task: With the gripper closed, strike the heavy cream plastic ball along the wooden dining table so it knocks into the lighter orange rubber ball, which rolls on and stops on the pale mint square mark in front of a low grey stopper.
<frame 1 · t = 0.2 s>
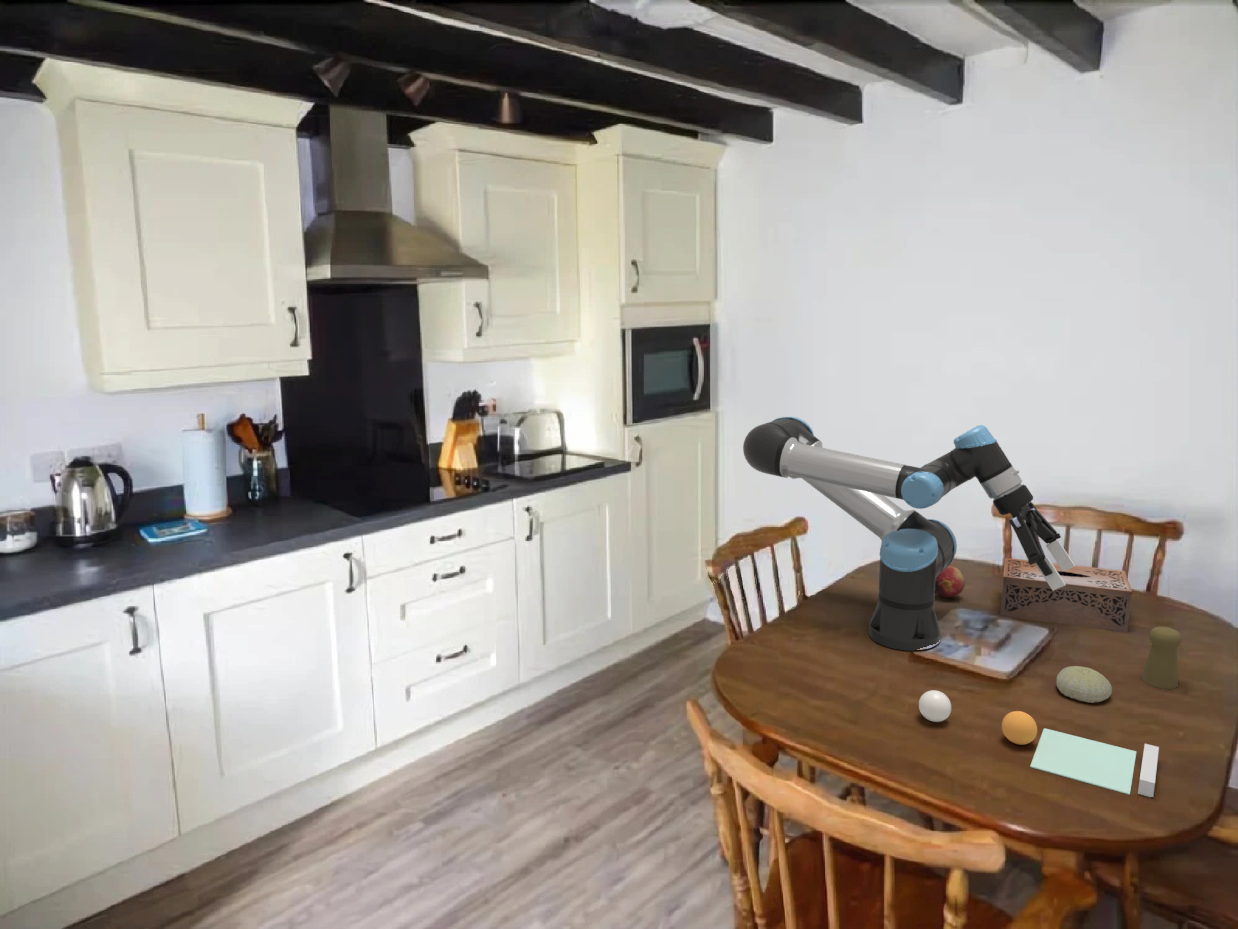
hand: (1064, 578, 178), 15 cm above the table, tool tilted 35°, fingers open, 13 cm apart
sea urchin shell: (1081, 695, 161), on the table
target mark: (1083, 759, 139), on the table
stopper: (1147, 776, 134), on the table
orange ball: (1019, 727, 144), on the table
fruit: (946, 598, 209), on the table
cork: (1159, 682, 164), on the table
tissue box cover: (1060, 614, 198), on the table
cue ball: (934, 706, 152), on the table
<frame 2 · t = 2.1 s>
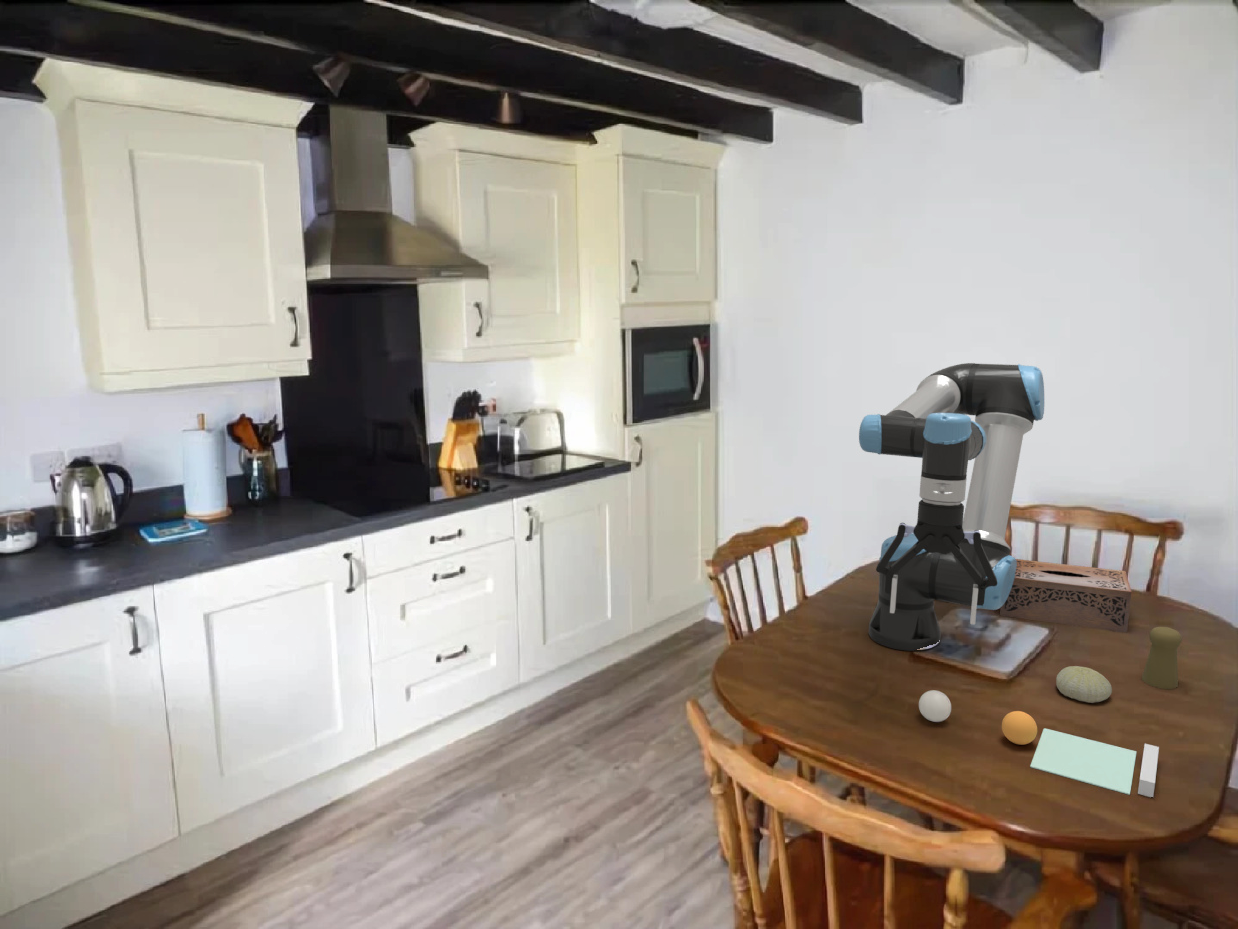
hand: (931, 616, 151), 19 cm above the table, tool pointing down, fingers open, 13 cm apart
nothing on the table moved.
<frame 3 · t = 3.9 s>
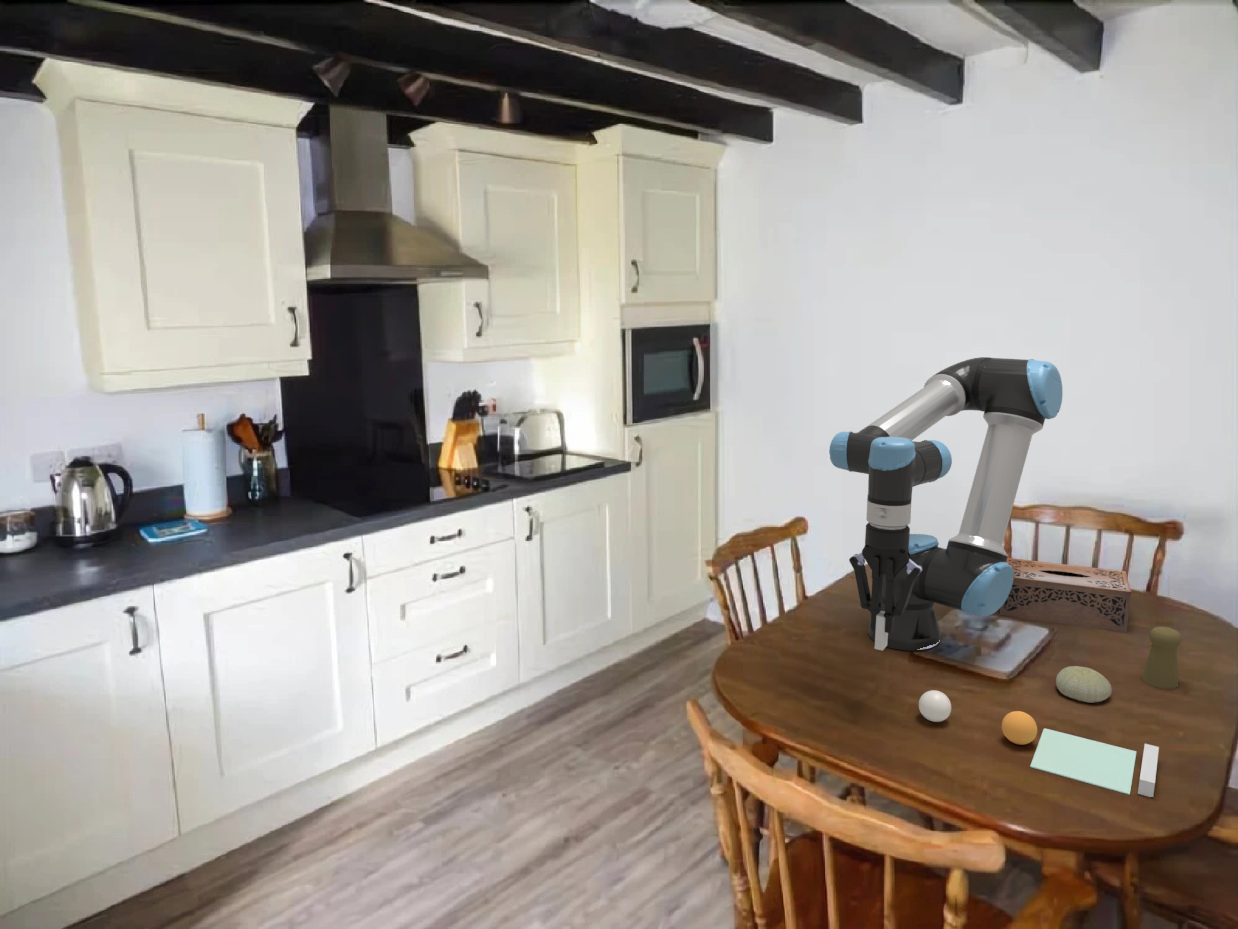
hand: (880, 647, 155), 12 cm above the table, tool pointing down, fingers closed
nothing on the table moved.
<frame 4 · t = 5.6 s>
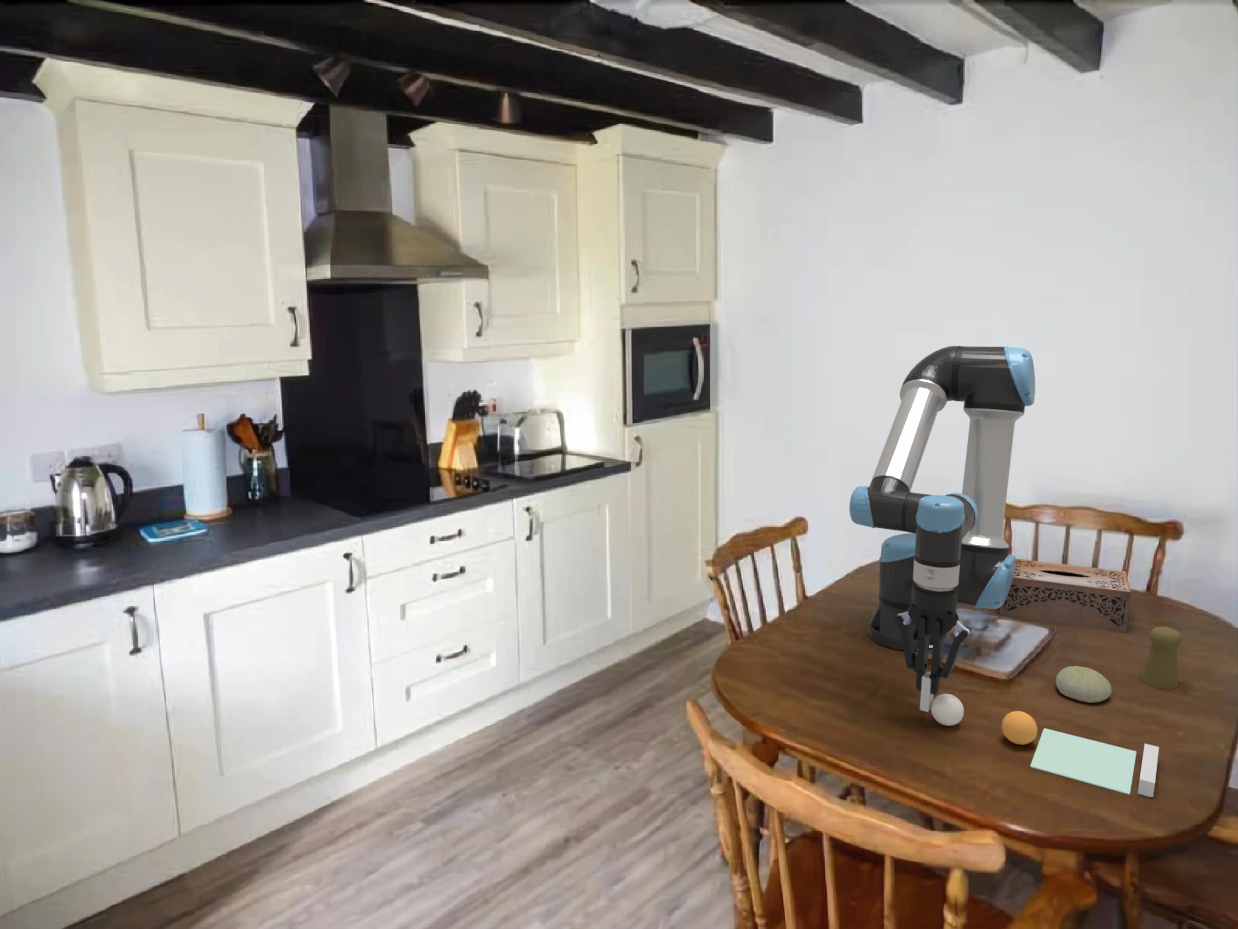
hand: (926, 708, 152), 2 cm above the table, tool pointing down, fingers closed
cue ball: (947, 709, 150), on the table, touching gripper
everything else where it was.
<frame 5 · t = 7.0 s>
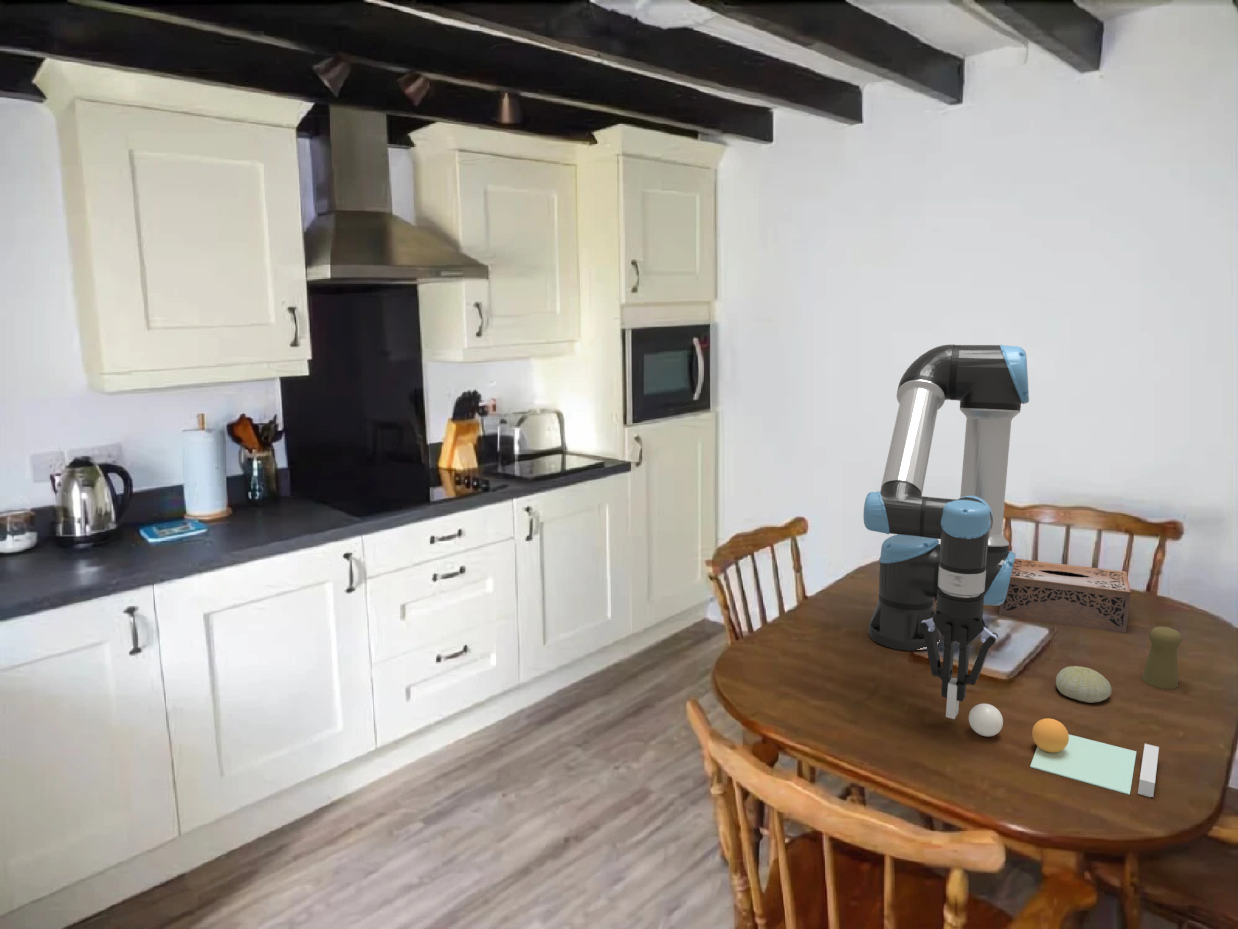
hand: (952, 714, 150), 2 cm above the table, tool pointing down, fingers closed
orange ball: (1050, 735, 141), on the table
cue ball: (985, 720, 146), on the table
everything else where it was.
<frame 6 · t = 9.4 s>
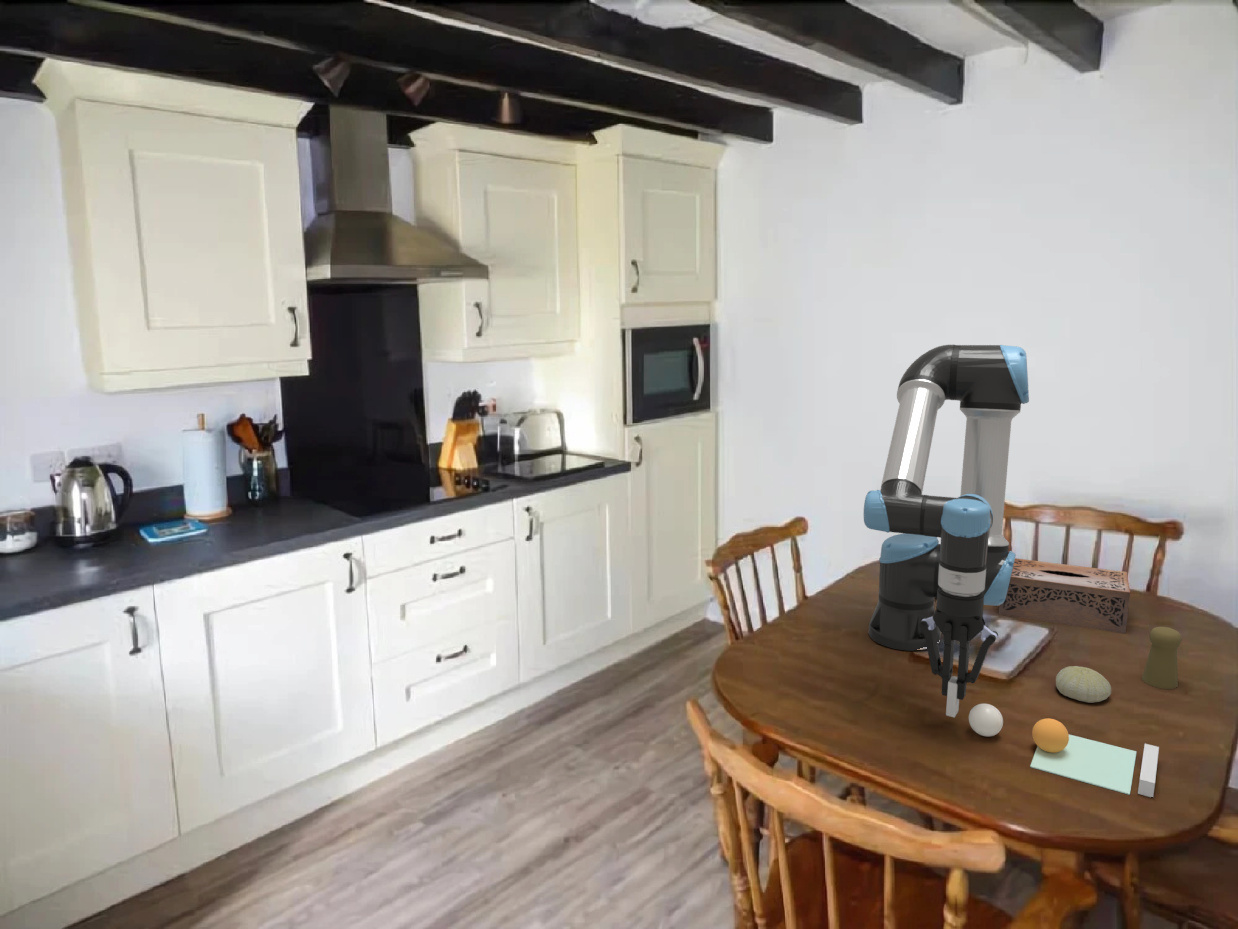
hand: (952, 713, 150), 2 cm above the table, tool pointing down, fingers closed
nothing on the table moved.
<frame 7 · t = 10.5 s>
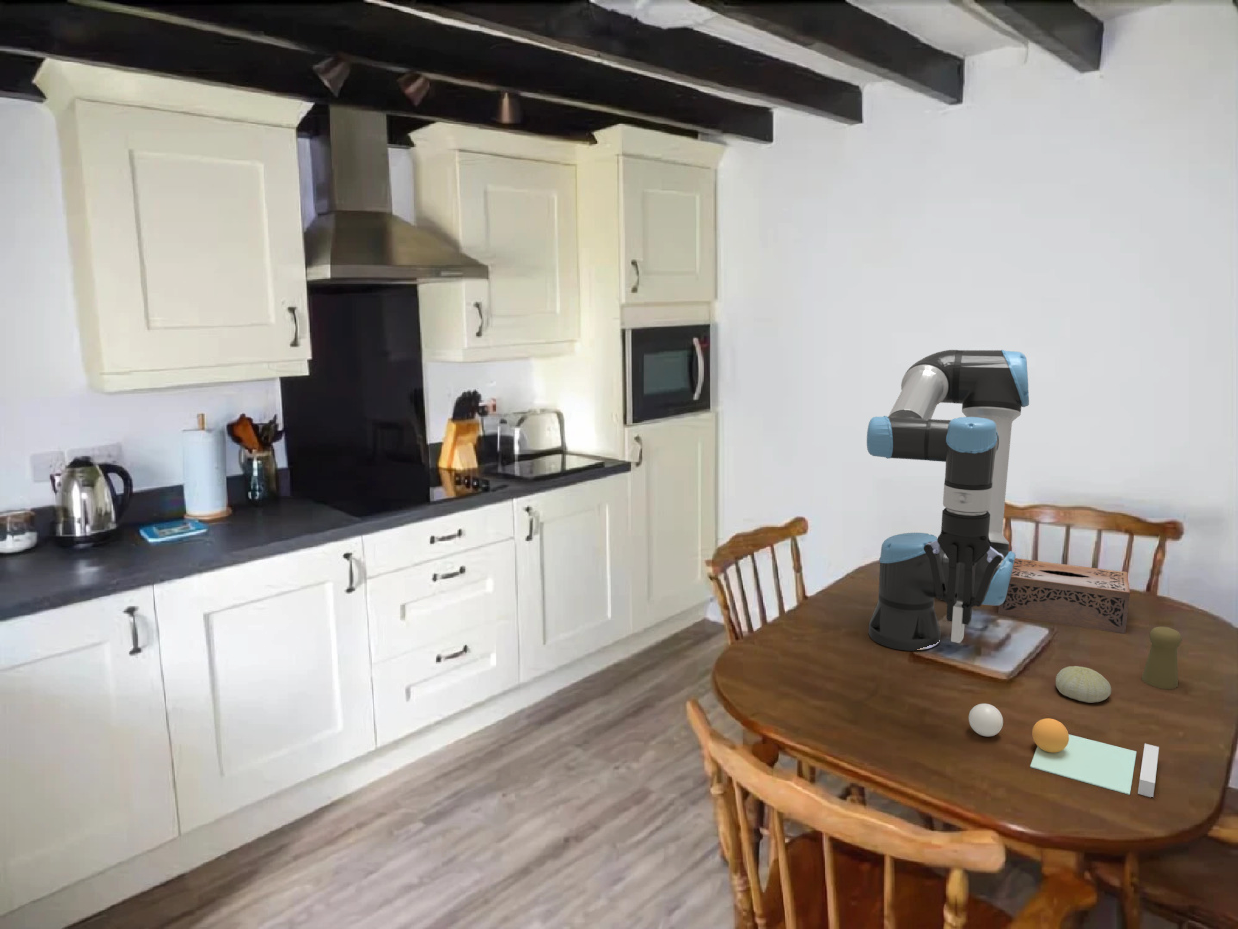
hand: (957, 639, 147), 16 cm above the table, tool pointing down, fingers closed
nothing on the table moved.
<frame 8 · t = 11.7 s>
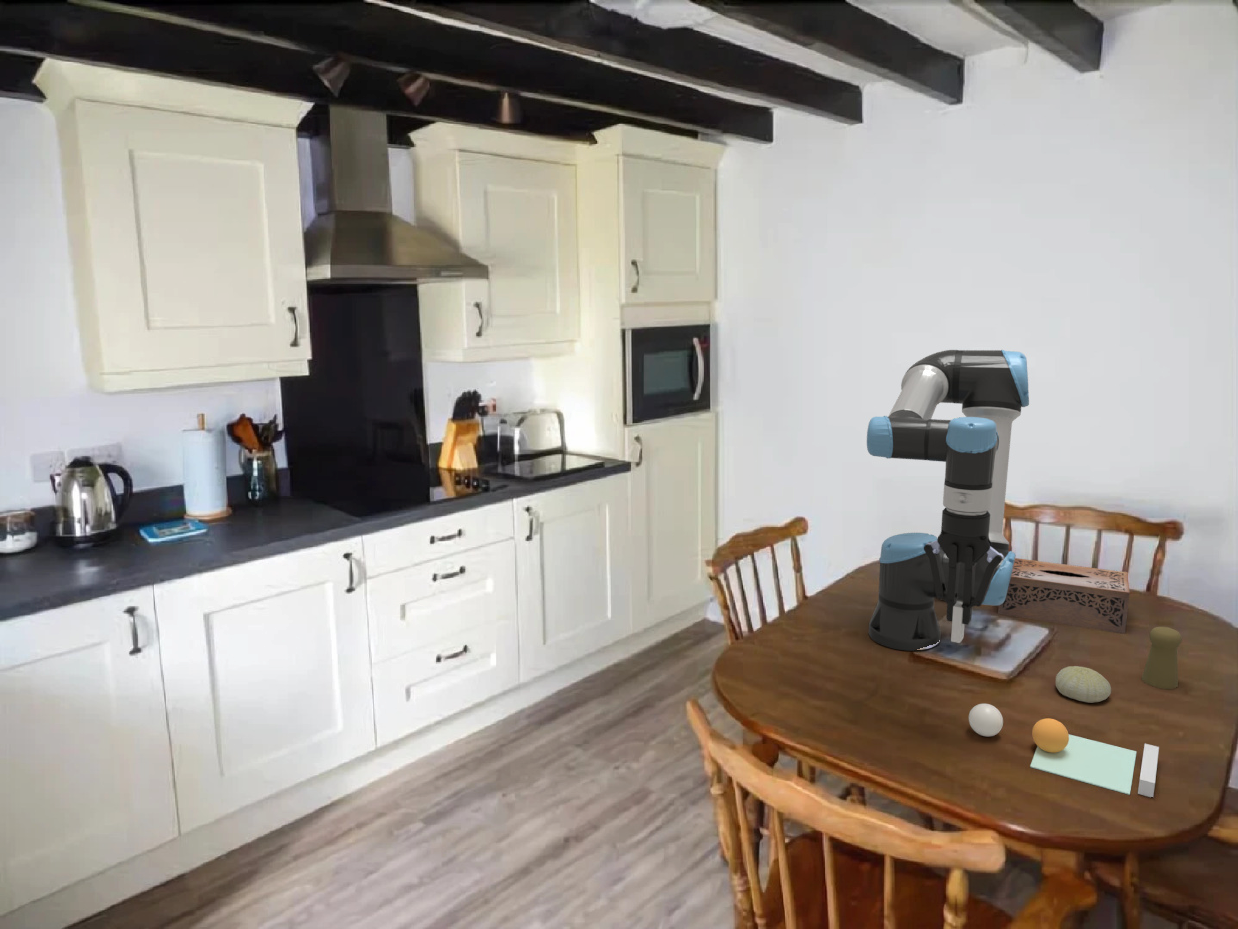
hand: (957, 639, 147), 16 cm above the table, tool pointing down, fingers closed
nothing on the table moved.
at the end: orange ball 5.2 cm from the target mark (horizontally); orange ball never touched the robot; cue ball first touched orange ball at 5.9 s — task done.
